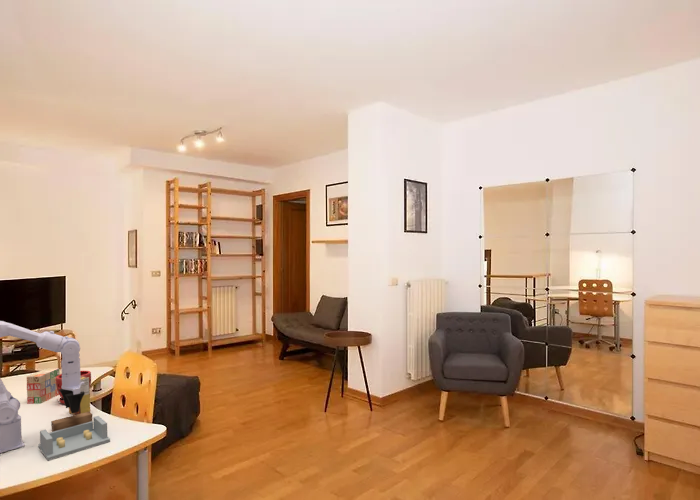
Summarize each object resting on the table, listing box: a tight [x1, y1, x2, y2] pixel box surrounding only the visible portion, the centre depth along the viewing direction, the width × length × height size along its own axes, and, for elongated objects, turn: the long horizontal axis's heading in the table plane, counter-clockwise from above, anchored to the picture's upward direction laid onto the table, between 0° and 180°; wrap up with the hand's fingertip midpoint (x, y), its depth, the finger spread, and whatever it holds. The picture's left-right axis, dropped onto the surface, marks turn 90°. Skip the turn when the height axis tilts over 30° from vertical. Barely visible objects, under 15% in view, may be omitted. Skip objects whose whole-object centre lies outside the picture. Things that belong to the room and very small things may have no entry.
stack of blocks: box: [26, 367, 62, 405], centre depth 201 cm, size 21×6×12 cm, turn 179°
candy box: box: [68, 375, 91, 416], centre depth 177 cm, size 9×4×15 cm, turn 60°
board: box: [50, 411, 93, 432], centre depth 158 cm, size 12×4×6 cm, turn 136°
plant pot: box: [56, 370, 92, 405], centre depth 193 cm, size 13×13×12 cm
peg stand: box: [37, 415, 111, 462], centre depth 149 cm, size 18×14×6 cm
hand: (72, 409), depth 158 cm, fingers open, 7 cm apart
